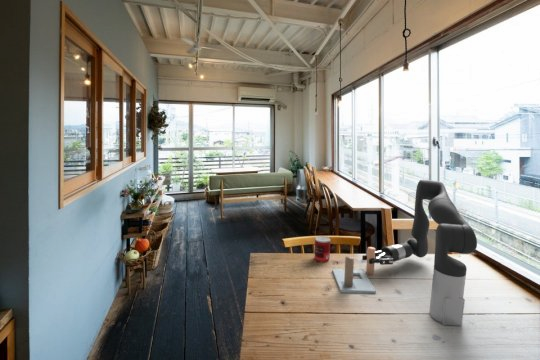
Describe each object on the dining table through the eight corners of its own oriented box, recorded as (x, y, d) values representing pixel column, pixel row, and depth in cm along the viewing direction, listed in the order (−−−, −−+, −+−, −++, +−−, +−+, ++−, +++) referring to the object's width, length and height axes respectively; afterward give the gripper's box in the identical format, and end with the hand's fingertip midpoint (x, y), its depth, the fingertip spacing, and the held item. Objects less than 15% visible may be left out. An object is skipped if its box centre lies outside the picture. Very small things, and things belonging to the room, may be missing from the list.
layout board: (375, 293, 111) (377, 262, 109) (340, 292, 111) (342, 261, 109) (362, 271, 128) (364, 245, 127) (332, 271, 129) (333, 244, 127)
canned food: (328, 256, 146) (329, 236, 144) (330, 262, 138) (331, 241, 136) (314, 255, 146) (314, 235, 145) (314, 262, 138) (315, 241, 137)
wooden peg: (374, 274, 126) (376, 249, 124) (367, 274, 126) (368, 249, 124) (372, 271, 129) (373, 247, 127) (365, 271, 129) (366, 246, 127)
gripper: (381, 240, 138) (355, 246, 131) (406, 251, 126) (378, 258, 118) (380, 255, 139) (354, 261, 132) (405, 266, 127) (377, 274, 119)
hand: (366, 259), depth 125 cm, fingers closed on wooden peg, 3 cm apart
